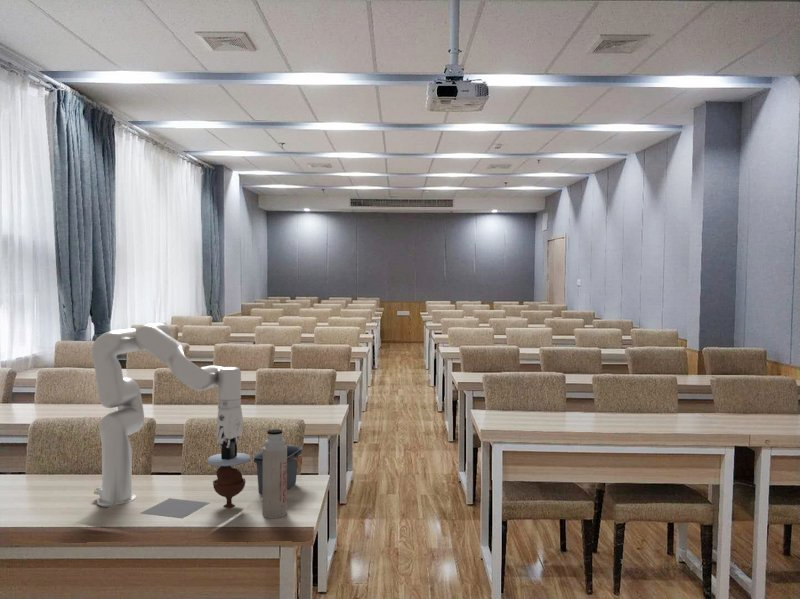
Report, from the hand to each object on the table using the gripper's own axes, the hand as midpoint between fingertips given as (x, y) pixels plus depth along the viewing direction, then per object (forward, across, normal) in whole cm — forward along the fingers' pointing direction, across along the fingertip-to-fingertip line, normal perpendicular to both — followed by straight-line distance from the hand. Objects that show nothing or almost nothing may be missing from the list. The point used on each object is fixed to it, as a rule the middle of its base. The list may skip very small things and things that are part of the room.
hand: (229, 457), depth 227 cm
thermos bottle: (+18, 0, -17) cm, 25 cm away
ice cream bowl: (+18, 0, 0) cm, 18 cm away
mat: (+18, -7, +16) cm, 25 cm away
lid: (+1, 0, 0) cm, 1 cm away
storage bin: (+18, +25, -7) cm, 32 cm away
